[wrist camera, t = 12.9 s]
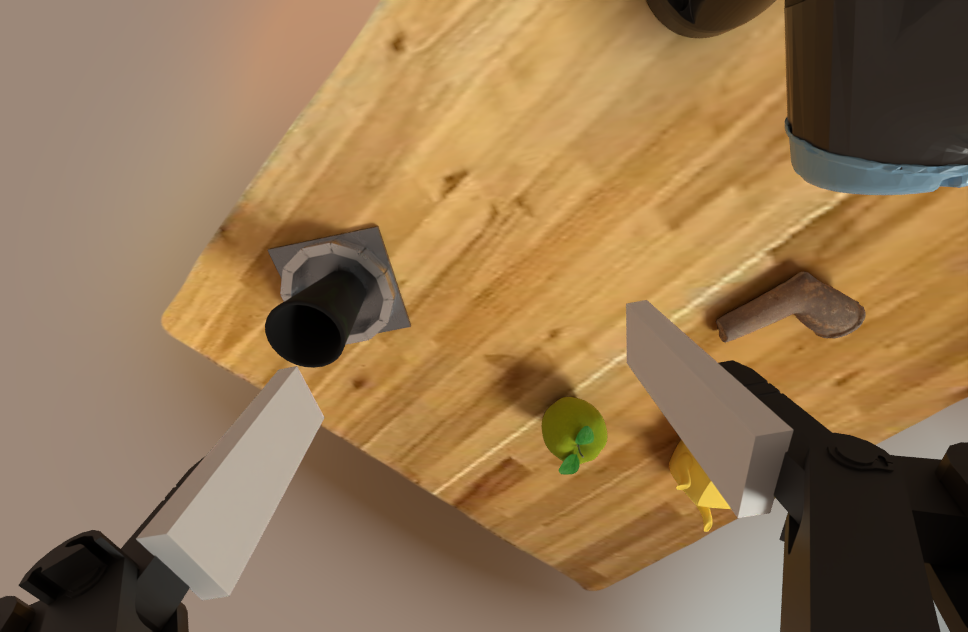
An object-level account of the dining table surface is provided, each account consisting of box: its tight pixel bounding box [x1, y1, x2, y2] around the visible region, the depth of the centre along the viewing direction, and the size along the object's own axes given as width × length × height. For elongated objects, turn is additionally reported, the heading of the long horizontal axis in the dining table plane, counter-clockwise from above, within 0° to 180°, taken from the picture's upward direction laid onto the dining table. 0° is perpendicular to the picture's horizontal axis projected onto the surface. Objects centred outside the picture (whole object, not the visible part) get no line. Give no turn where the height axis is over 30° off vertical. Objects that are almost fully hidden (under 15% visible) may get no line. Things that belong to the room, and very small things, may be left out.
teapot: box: [669, 439, 731, 532], centre depth 58 cm, size 15×14×10 cm
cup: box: [265, 271, 366, 368], centre depth 40 cm, size 8×8×12 cm
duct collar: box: [268, 226, 411, 345], centre depth 45 cm, size 14×14×3 cm
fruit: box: [542, 397, 607, 474], centre depth 52 cm, size 9×9×10 cm
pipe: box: [716, 272, 865, 342], centre depth 48 cm, size 6×17×10 cm
